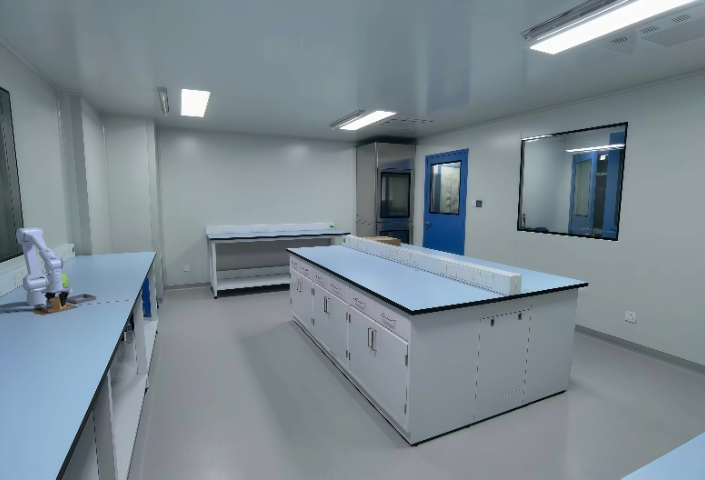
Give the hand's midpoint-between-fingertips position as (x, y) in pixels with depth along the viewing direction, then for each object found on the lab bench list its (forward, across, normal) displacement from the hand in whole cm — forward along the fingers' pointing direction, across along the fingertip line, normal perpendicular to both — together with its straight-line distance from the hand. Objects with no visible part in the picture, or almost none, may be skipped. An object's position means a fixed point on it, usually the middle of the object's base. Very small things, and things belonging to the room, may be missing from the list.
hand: (58, 305), depth 197 cm
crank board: (+2, -2, 0) cm, 3 cm away
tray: (+2, +3, +14) cm, 15 cm away
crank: (+1, -5, -3) cm, 6 cm away
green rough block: (+3, -34, +49) cm, 60 cm away
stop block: (+1, 0, 0) cm, 1 cm away
